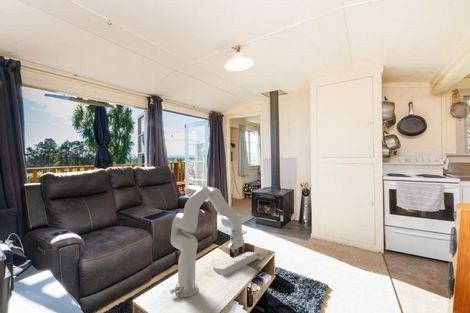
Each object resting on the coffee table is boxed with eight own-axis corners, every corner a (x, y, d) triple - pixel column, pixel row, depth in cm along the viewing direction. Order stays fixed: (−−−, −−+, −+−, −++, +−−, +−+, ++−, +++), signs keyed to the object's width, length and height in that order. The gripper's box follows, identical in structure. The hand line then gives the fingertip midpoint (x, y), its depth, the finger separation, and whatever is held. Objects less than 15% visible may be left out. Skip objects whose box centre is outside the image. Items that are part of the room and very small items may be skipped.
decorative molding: (214, 275, 142) (224, 277, 135) (213, 267, 142) (222, 269, 136) (247, 258, 166) (257, 259, 159) (246, 251, 167) (256, 252, 160)
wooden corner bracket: (240, 260, 156) (240, 252, 156) (232, 256, 161) (232, 249, 161) (254, 252, 169) (254, 245, 169) (245, 249, 174) (246, 242, 174)
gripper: (232, 236, 144) (232, 260, 144) (247, 229, 157) (247, 252, 157) (224, 233, 149) (224, 257, 149) (240, 226, 162) (239, 249, 162)
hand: (236, 254), depth 153 cm, fingers open, 9 cm apart
